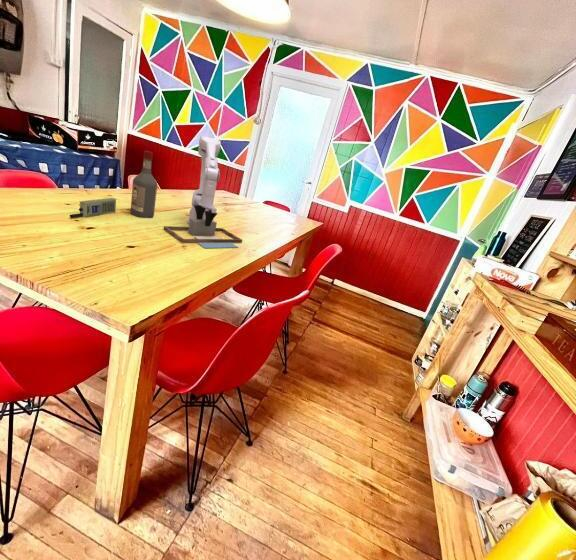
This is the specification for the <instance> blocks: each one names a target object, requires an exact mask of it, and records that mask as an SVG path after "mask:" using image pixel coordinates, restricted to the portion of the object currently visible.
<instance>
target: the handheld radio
mask: <svg viewBox="0 0 576 560" xmlns="http://www.w3.org/2000/svg"><path fill="white" fill-rule="evenodd" d="M116 210H117V198H115V197H107V198H100V199H99V198H98V199H89V200H81V201H79V208H78V211H79V213H74V214H73V213H72V214H70V215H69V218H70V219H73V218H79V217H80V218H84V219H85V218H91V217H96V216H103V215H109V214H113V213H116V212H117V211H116Z"/></svg>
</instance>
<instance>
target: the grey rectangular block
mask: <svg viewBox="0 0 576 560" xmlns="http://www.w3.org/2000/svg"><path fill="white" fill-rule="evenodd" d="M188 227H189V229H188V231H187V234H189V235H190V236H192V237H194V236H215V235H216V231H215V230H216V228H217V222H216V221H215V220H213V221H212V223H211V225H210V226H205V220H203V219H190V222H189V223H188Z"/></svg>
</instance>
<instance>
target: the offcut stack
mask: <svg viewBox="0 0 576 560" xmlns="http://www.w3.org/2000/svg"><path fill="white" fill-rule="evenodd" d="M193 239H223V238H222V237H218V236H217V235H216V236H215V235H214V236H193Z"/></svg>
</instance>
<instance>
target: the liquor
mask: <svg viewBox="0 0 576 560" xmlns="http://www.w3.org/2000/svg"><path fill="white" fill-rule="evenodd" d="M153 156H154V152H152V151H149V150H144V151H143V161H142V169H141V172H140V173H138V174H137V175H136V176H134V178H133V180H132V189H131V199H130V200H131V202H130V214H131V215H133V216H135V217H137V218H141V217H142V219H150V218H151V219H152V218H153V217H154V216H155V211H156V210H155V209H156V202H157V201H156V200H157V191H158V183H157V180H156V179H155V178H154V176H153V174H152V160H153ZM147 217H148V218H147Z"/></svg>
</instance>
